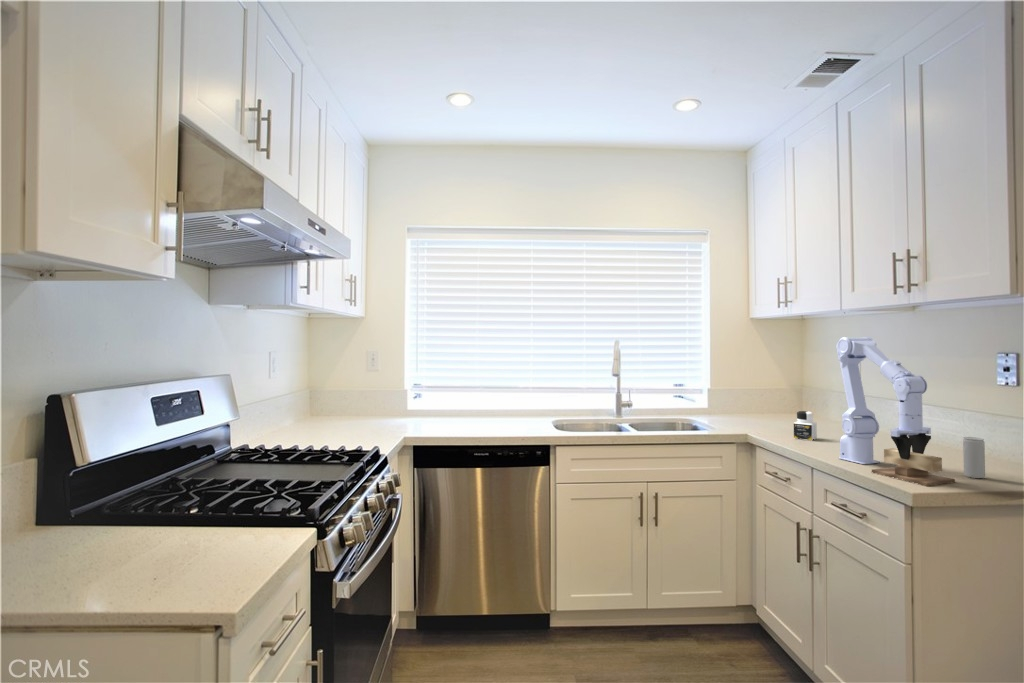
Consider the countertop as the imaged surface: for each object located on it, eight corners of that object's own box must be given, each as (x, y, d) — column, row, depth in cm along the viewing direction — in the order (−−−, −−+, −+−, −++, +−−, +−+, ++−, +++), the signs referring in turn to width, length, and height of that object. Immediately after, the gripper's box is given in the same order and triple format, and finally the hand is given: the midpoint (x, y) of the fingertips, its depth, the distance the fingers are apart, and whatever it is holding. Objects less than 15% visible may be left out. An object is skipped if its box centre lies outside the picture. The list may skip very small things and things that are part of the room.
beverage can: (978, 479, 146) (977, 440, 147) (959, 475, 151) (959, 437, 151) (989, 478, 148) (988, 439, 148) (970, 474, 152) (969, 436, 153)
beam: (884, 461, 156) (883, 449, 156) (893, 460, 157) (892, 448, 157) (932, 472, 143) (932, 458, 143) (942, 471, 144) (941, 457, 144)
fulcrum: (871, 472, 156) (871, 461, 156) (898, 469, 159) (898, 458, 159) (926, 486, 141) (926, 474, 141) (955, 482, 144) (954, 470, 144)
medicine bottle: (793, 438, 212) (793, 411, 212) (798, 436, 217) (798, 409, 217) (812, 441, 207) (811, 413, 207) (817, 438, 212) (816, 411, 212)
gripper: (907, 417, 144) (908, 463, 144) (941, 415, 148) (942, 459, 148) (883, 414, 151) (884, 457, 151) (916, 412, 155) (917, 454, 155)
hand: (911, 458), depth 150 cm, fingers open, 5 cm apart
